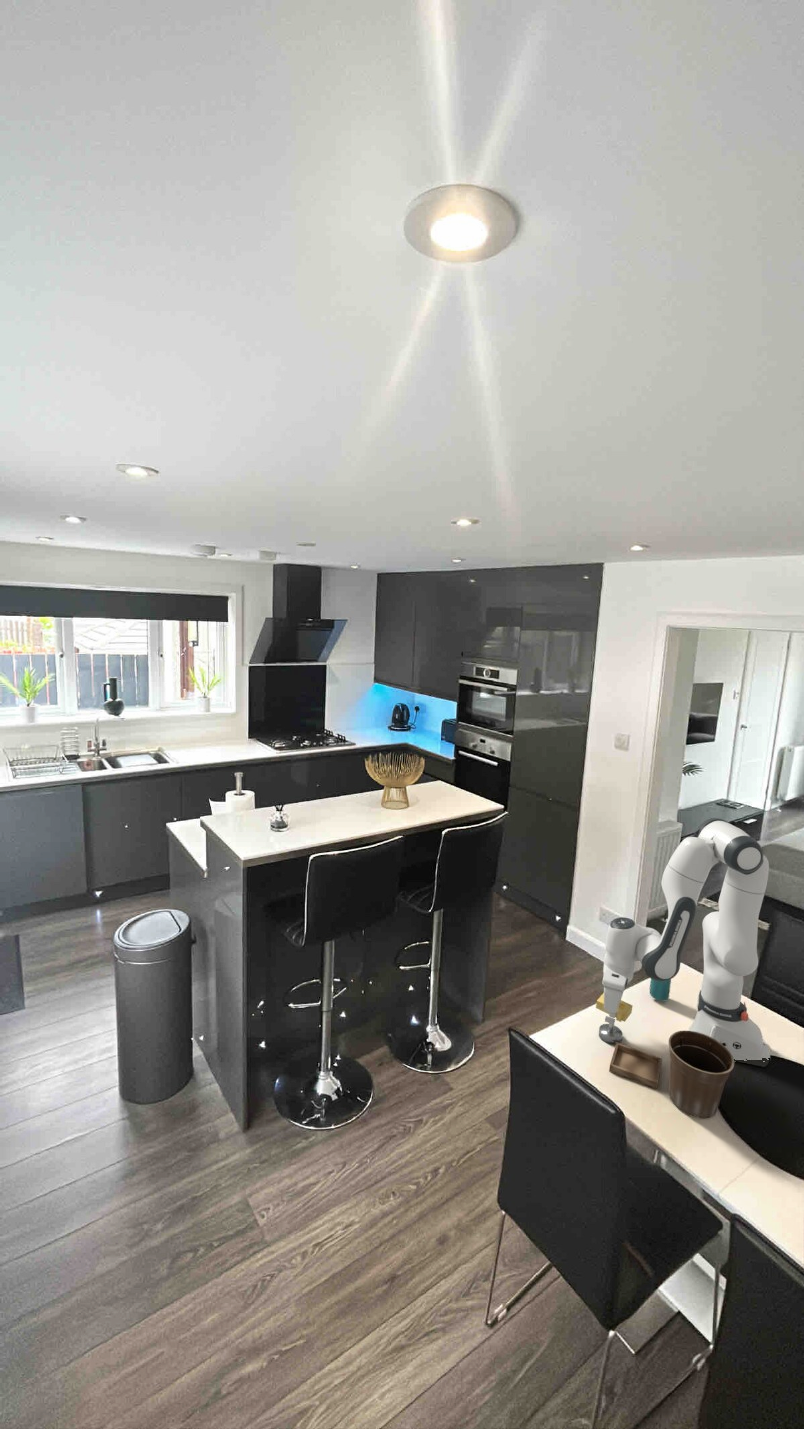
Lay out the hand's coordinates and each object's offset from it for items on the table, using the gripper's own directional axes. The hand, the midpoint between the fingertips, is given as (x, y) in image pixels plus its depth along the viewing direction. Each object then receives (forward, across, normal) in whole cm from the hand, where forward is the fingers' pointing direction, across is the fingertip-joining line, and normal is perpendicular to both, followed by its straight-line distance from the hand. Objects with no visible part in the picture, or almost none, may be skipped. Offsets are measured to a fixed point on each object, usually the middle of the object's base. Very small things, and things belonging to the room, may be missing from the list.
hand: (614, 1009), depth 194 cm
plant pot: (+10, +15, +24) cm, 31 cm away
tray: (+10, +10, +8) cm, 17 cm away
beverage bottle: (+10, -29, +10) cm, 32 cm away
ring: (0, 0, 0) cm, 1 cm away
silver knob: (+10, 0, 0) cm, 10 cm away
